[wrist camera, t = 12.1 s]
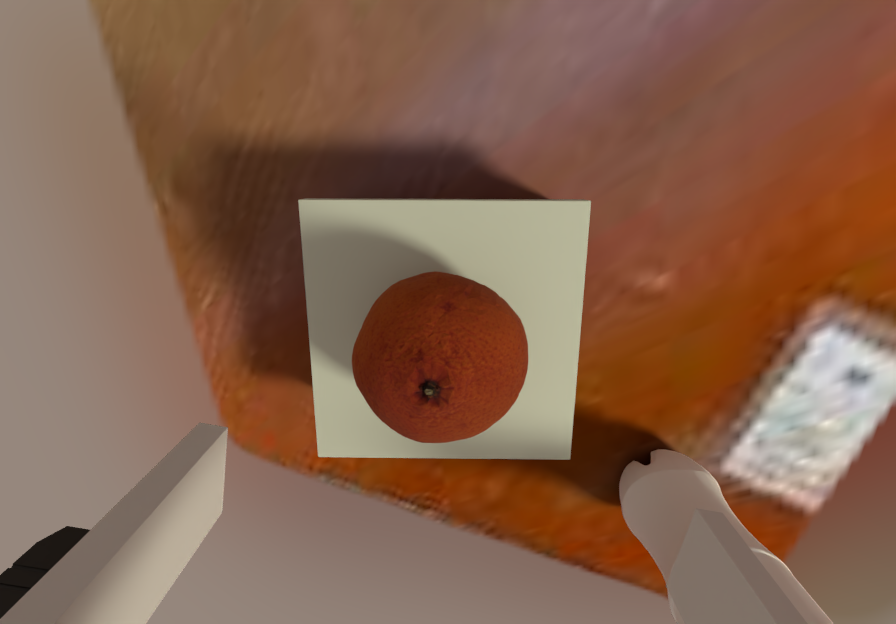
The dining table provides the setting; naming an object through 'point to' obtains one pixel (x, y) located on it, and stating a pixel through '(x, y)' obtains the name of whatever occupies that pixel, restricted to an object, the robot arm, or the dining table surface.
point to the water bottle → (670, 513)
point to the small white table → (460, 253)
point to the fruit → (440, 357)
